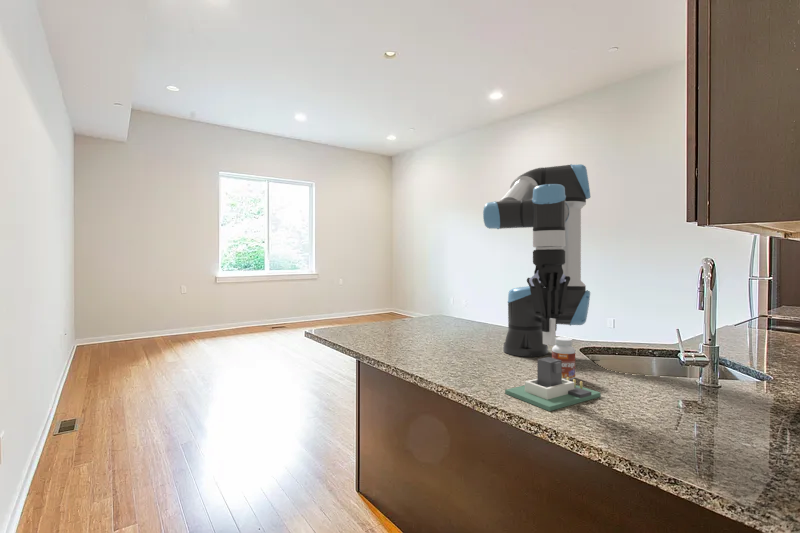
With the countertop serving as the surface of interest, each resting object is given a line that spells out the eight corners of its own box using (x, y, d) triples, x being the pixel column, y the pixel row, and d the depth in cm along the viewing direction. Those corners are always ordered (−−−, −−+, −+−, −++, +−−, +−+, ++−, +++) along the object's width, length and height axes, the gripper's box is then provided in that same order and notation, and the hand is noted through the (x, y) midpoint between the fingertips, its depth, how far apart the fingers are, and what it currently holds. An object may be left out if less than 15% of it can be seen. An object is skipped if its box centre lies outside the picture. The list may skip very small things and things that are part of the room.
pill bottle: (557, 381, 118) (556, 341, 117) (548, 374, 124) (548, 336, 123) (579, 380, 118) (579, 340, 117) (569, 374, 124) (569, 336, 124)
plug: (548, 388, 109) (548, 357, 108) (564, 393, 104) (564, 361, 104) (537, 391, 107) (537, 359, 106) (553, 396, 102) (552, 363, 102)
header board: (554, 381, 117) (554, 369, 117) (600, 396, 105) (600, 382, 105) (505, 393, 108) (505, 379, 108) (549, 411, 96) (549, 395, 96)
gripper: (554, 248, 111) (555, 339, 112) (518, 249, 105) (518, 344, 105) (579, 248, 104) (579, 344, 105) (542, 248, 98) (542, 350, 99)
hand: (549, 344), depth 105 cm, fingers closed
